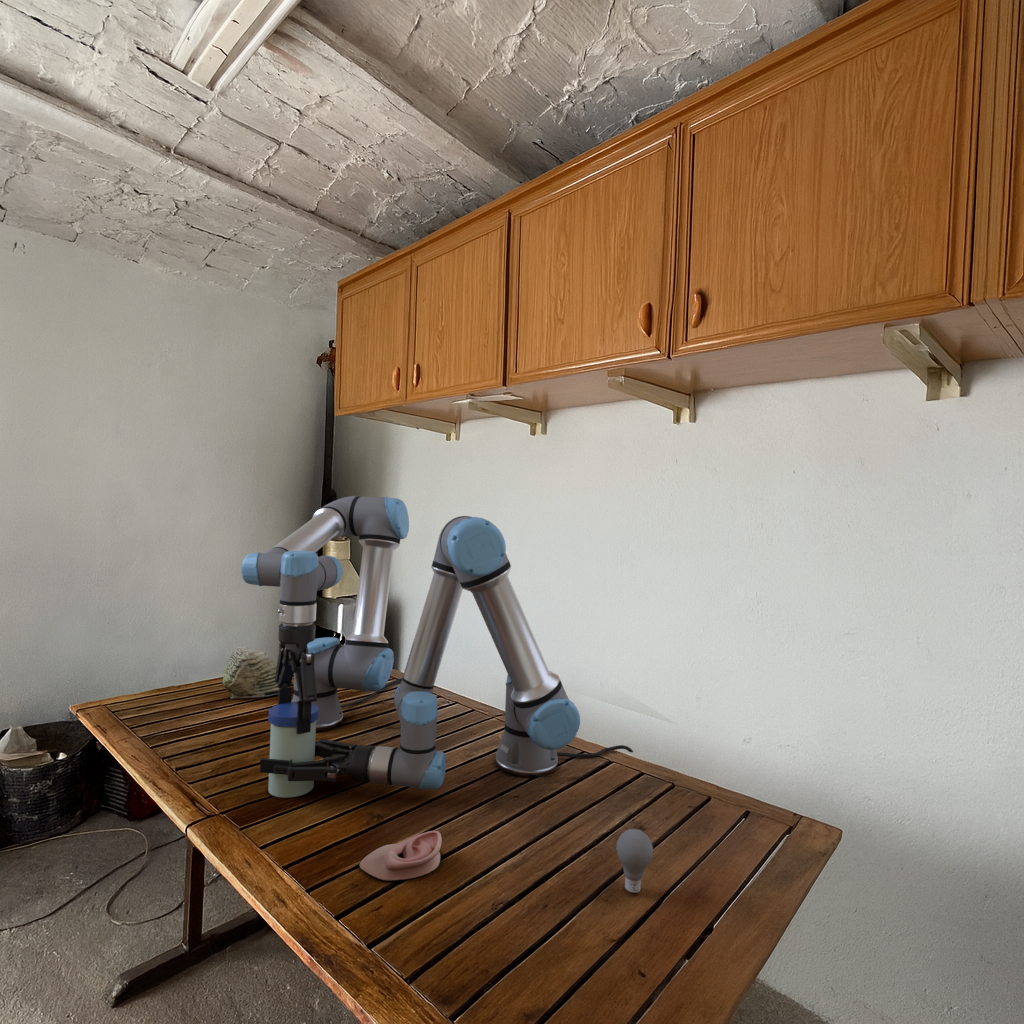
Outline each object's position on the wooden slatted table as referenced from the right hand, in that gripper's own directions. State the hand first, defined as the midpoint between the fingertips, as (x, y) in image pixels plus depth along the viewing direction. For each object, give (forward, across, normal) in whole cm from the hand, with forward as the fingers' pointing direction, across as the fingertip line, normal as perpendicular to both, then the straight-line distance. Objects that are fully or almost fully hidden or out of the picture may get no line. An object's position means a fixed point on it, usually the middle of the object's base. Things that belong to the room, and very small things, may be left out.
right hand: (272, 755), depth 138 cm
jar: (-4, 0, -7) cm, 8 cm away
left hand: (-4, 0, +7) cm, 8 cm away
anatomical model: (-36, -23, -7) cm, 43 cm away
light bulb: (-76, -24, -7) cm, 80 cm away
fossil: (+35, +57, -7) cm, 67 cm away
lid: (-4, 0, +10) cm, 11 cm away
